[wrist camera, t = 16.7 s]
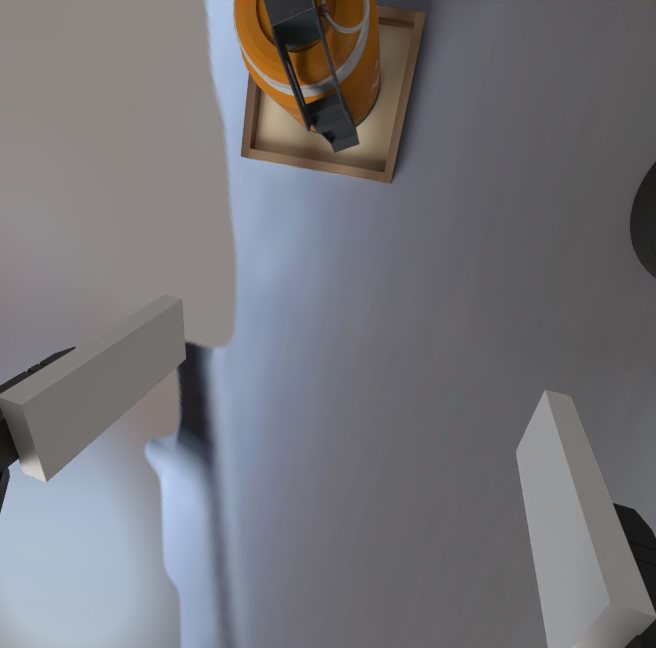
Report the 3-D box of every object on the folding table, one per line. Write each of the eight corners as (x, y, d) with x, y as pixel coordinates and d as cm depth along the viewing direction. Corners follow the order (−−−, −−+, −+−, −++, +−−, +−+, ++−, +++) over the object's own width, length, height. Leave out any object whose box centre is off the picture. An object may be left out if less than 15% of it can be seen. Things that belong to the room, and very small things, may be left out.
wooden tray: (424, 23, 36) (426, 12, 34) (390, 184, 40) (390, 182, 38) (265, 0, 37) (257, -12, 35) (248, 158, 41) (240, 156, 39)
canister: (365, 10, 36) (342, -206, 17) (398, 140, 38) (409, 82, 19) (271, 50, 37) (154, -103, 19) (308, 172, 40) (239, 147, 21)
